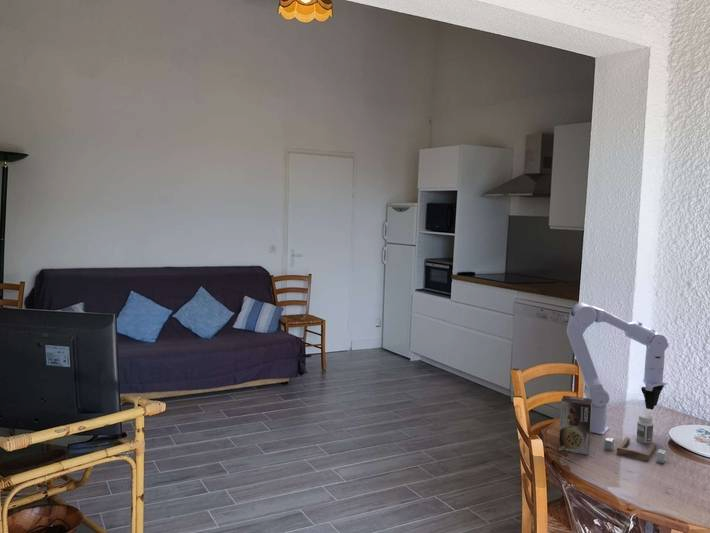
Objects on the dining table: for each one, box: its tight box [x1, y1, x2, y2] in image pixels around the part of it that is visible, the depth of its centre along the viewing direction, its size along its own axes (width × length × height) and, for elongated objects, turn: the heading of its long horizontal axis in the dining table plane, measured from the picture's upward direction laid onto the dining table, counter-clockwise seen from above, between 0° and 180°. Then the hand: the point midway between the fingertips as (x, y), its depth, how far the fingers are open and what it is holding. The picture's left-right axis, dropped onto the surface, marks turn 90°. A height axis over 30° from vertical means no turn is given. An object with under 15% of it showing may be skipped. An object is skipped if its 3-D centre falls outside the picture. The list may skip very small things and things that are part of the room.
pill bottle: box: [636, 414, 654, 444], centre depth 198 cm, size 5×5×8 cm
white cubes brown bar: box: [603, 436, 667, 464], centre depth 189 cm, size 17×13×3 cm
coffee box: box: [558, 395, 592, 456], centre depth 189 cm, size 9×6×16 cm
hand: (651, 406), depth 205 cm, fingers open, 5 cm apart
